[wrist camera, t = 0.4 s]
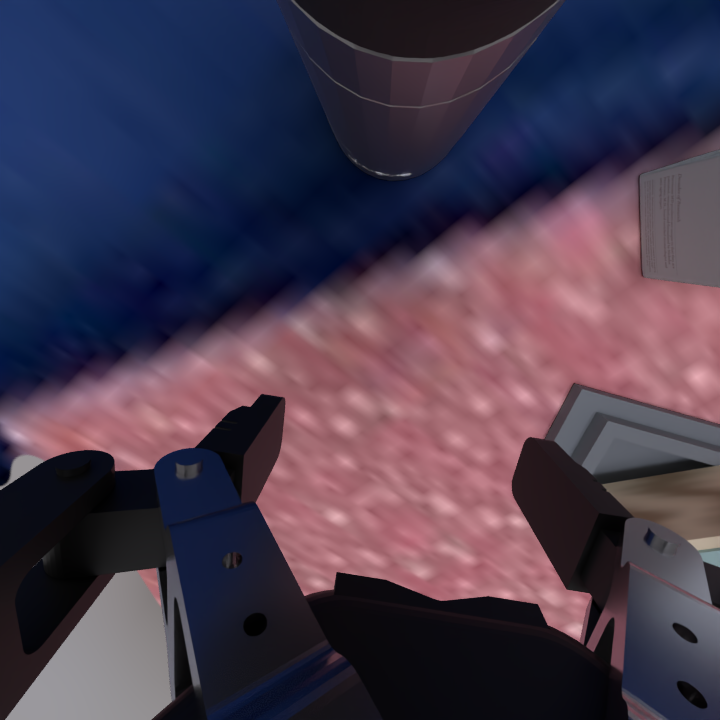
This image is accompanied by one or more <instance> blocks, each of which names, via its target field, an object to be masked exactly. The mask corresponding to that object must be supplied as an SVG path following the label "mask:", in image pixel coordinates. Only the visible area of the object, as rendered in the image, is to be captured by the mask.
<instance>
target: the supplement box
mask: <svg viewBox="0 0 720 720" xmlns="http://www.w3.org/2000/svg"><path fill="white" fill-rule="evenodd" d="M640 219H641V252H642V271H643V276H644V277H645V278H651V279H658V280H665V281H673V282H681V283H689V284H696V285H704V286H711V287H719V288H720V149H719V150H716V151H712V152H709V153H706V154H703V155H700V156H696V157H693V158H690V159H687V160H684V161H681V162H677V163H674V164H671V165H668V166H665V167H662V168H659V169H656V170H653V171H650V172H646V173H643V174H641V175H640Z"/></svg>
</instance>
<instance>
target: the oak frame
mask: <svg viewBox="0 0 720 720" xmlns="http://www.w3.org/2000/svg"><path fill="white" fill-rule="evenodd" d="M602 485H603V486H604V487H605V488H606V489H607V490H606V491H607V492H610V493H611V494H612V495H613V496H614V497H615V498H616V499H617V500H618V501H619V502H620V503H621V504H622V505H623V506H624V507H625V508H626V509H627V510H628V511H629V512H630V513H631V514H632V515H633V516H634V517H635V518H641V519H646V520H649V521H652V522H655V523H657V524H660V525H662V526H664V527H666V528H668V529H670V530H672V531H673V532H675V533H677V534H678V535H680V536H681V537H683V538H684V539H685V540H687V541H688V542H689V543H690V544H692V545H693V546H694V547H695V548H696V549H697V551H698V552H699V553H700V555H701V557H702V559H703V561H704V562H707V563H709V564H712V565H715V566H718V567H720V465H718V466H712V467H706V468H700V469H693V470H687V471H681V472H675V473H669V474H663V475H656V476H650V477H644V478H638V479H632V480H626V481H619V482H613V483H607V484H602Z"/></svg>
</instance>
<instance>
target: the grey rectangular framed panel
mask: <svg viewBox="0 0 720 720" xmlns="http://www.w3.org/2000/svg"><path fill="white" fill-rule="evenodd" d="M545 440H551V441H555V442H556V443H557V444H558V445H559V446H560V447H561V448H562V449H563V450H564V451H565V452H566V453H567V454H568V455H569V456H570V457H571V458H572V459H573V460H574V461H575V462H576V463H578V464H579V465H581V466H582V467H584V468H585V469H587V470H588V471H589V472H590V473H591V474H592V475H593V476H594V477H595V478H596V479H597V482H600V483H601V484H607V483H613V482H619V481H626V480H632V479H638V478H644V477H650V476H656V475H663V474H669V473H675V472H681V471H687V470H693V469H700V468H706V467H712V466H718V465H720V424H716V423H713V422H709V421H706V420H702V419H698V418H695V417H691V416H688V415H684V414H681V413H677V412H674V411H670V410H667V409H663V408H660V407H656V406H653V405H649V404H646V403H642V402H638V401H635V400H631V399H628V398H624V397H621V396H617V395H614V394H610V393H607V392H603V391H600V390H596V389H593V388H589V387H586V386H582V385H579V384H575V383H574V385H573V387H572V388H571V390H570V392H569V394H568V396H567V398H566V400H565V402H564V404H563V405H562V407H561V409H560V411H559V413H558V415H557V417H556V419H555V420H554V422H553V424H552V426H551V428H550V430H549V432H548V434H547V436H546V437H545Z"/></svg>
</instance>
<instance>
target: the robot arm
mask: <svg viewBox="0 0 720 720" xmlns="http://www.w3.org/2000/svg"><path fill="white" fill-rule="evenodd" d="M276 1H277V3H278V5H279V7H280V10H281V12H282V14H283V16H284V19H285V21H286V23H287V26H288V28H289V30H290V33H291V35H292V37H293V40H294V42H295V44H296V47H297V49H298V51H299V54H300V56H301V58H302V61H303V63H304V65H305V68H306V70H307V72H308V75H309V77H310V79H311V82H312V84H313V86H314V89H315V91H316V93H317V96H318V98H319V100H320V103H321V105H322V107H323V110H324V112H325V114H326V117H327V119H328V122H329V124H330V126H331V128H332V131H333V133H334V135H335V138H336V140H337V142H338V143H339V145H340V147H341V149H342V150H343V152H344V154H345V155H346V156H347V157H348V158H349V159H350V161H351V162H352V163H353V164H354V165H355V166H357V167H358V168H359V169H361V170H362V171H363V172H365V173H367V174H369V175H371V176H374V177H376V178H378V179H384V180H390V181H397V180H407V179H410V178H414V177H417V176H420V175H422V174H423V173H425V172H427V171H429V170H431V169H432V168H433V167H435V166H436V165H437V164H438V163H439V162H440V161H441V160H443V159H444V157H445V156H446V155H447V154H448V152H449V151H450V150H451V149H452V147H453V146H454V145H455V144H456V142H457V141H458V140H459V139H460V138H461V136H462V135H463V134H464V133H465V131H466V130H467V129H468V127H469V126H470V125H471V123H472V122H473V121H474V120H475V118H476V117H477V116H478V114H479V113H480V112H481V110H482V109H483V108H484V107H485V105H486V104H487V103H488V101H489V100H490V99H491V97H492V96H493V95H494V94H495V92H496V91H497V90H498V88H499V87H500V86H501V84H502V83H503V82H504V81H505V79H506V78H507V77H508V75H509V74H510V73H511V71H512V70H513V69H514V67H515V66H516V65H517V64H518V62H519V61H520V60H521V58H522V57H523V56H524V54H525V53H526V52H527V51H528V49H529V48H530V47H531V45H532V44H533V43H534V41H535V40H536V39H537V37H538V36H539V34H540V33H541V32H542V30H543V29H544V28H545V26H546V25H547V24H548V22H549V21H550V20H551V18H552V17H553V16H554V15H555V13H556V12H557V11H558V9H559V8H560V7H561V5H562V4H563V3H564V1H565V0H276ZM284 413H285V398H284V397H277V396H271V395H265V394H261V395H260V397H259V398H258V399H257V400H256V401H255V402H254V404H253V405H252V406H251V407H247V406H241V407H239V408H237V409H235V410H232V411H230V412H229V413H228V414H227V415H226V416H225V417H224V418H223V419H222V421H220V422H219V423H218V424H217V425H216V426H215V428H213V429H212V431H211V432H210V433H209V434H208V435H207V436H206V437H205V438H204V439H203V440H202V441H201V442H200V443H199V444H198V445H197V446H196V447H195V448H188V449H182V450H178V451H175V452H172V453H169V454H167V455H166V456H164V457H162V458H161V459H160V460H159V461H158V462H157V463H156V465H155V467H154V469H149V470H131V471H115V464H114V458H113V457H112V456H111V455H110V454H108V453H106V452H102V451H96V450H84V451H75V452H70V453H66V454H62V455H59V456H56V457H53V458H51V459H49V460H47V461H45V462H43V463H41V464H39V465H38V466H36V467H35V468H33V469H32V470H30V471H29V472H27V473H26V474H25V475H23V476H21V477H20V478H18V479H17V480H15V481H14V482H13V483H11V484H9V485H8V486H6V487H5V488H3V489H2V490H0V720H5V719H6V718H7V716H8V715H9V713H10V712H11V711H12V710H13V708H14V707H15V706H16V704H17V703H18V702H19V700H20V699H21V698H22V696H23V695H24V694H25V692H26V691H27V690H28V689H29V687H30V686H31V685H32V683H33V682H34V681H35V679H36V678H37V677H38V675H39V674H40V673H41V671H42V670H43V669H44V667H45V666H46V665H47V663H48V662H49V660H50V659H51V658H52V657H53V655H54V654H55V653H56V651H57V650H58V649H59V647H60V646H61V645H62V643H63V642H64V641H65V640H66V638H67V637H68V635H69V634H70V633H71V631H72V630H73V629H74V628H75V626H76V625H77V623H78V622H79V621H80V620H81V618H82V617H83V616H84V614H85V613H86V612H87V610H88V609H89V608H90V606H91V605H92V604H93V602H94V601H95V600H96V598H97V597H98V596H99V595H100V593H101V592H102V590H103V589H104V587H106V585H107V584H108V583H109V581H110V580H111V579H112V577H113V576H114V575H115V573H120V572H127V571H135V570H143V569H151V568H156V570H157V578H158V585H159V592H160V599H161V607H162V614H163V621H164V627H165V635H166V643H167V653H168V667H169V678H170V679H169V680H170V690H171V698H172V702H171V703H170V704H169V705H168V706H167V707H166V708H164V709H163V710H162V711H161V712H160V713H159V714H157V715H156V716H155V717H154V718H153V719H152V720H720V567H718V566H715V565H712V564H709V563H707V562H704V561H703V559H702V557H701V555H700V553H699V552H698V551H697V549H696V548H695V547H694V546H693V545H692V544H690V543H689V542H688V541H687V540H685V539H684V538H683V537H681V536H680V535H678V534H677V533H675V532H673V531H672V530H670V529H668V528H666V527H664V526H662V525H660V524H657V523H655V522H652V521H649V520H646V519H641V518H635V517H634V516H633V515H632V514H631V513H630V512H629V511H628V510H627V509H626V508H625V507H624V506H623V505H622V504H621V503H620V502H619V501H618V500H617V499H616V498H615V497H614V496H613V495H612V494H611V493H610V492H607V491H606V490H607V489H606V488H605V487H604V486H603V485H602V484H601V483H600V482H597V479H596V478H595V477H594V476H593V475H592V474H591V473H590V472H589V471H588V470H587V469H585V468H584V467H582V466H581V465H579V464H578V463H576V462H575V461H574V460H573V459H572V458H571V457H570V456H569V455H568V454H567V453H566V452H565V451H564V450H563V449H562V448H561V447H560V446H559V445H558V444H557V443H556V442H555V441H551V440H545V439H539V438H532V437H529V438H527V439H526V441H525V442H524V445H523V448H522V451H521V454H520V457H519V460H518V463H517V466H516V470H515V473H514V476H513V479H512V493H513V496H514V498H515V500H516V502H517V504H518V506H519V507H520V509H521V511H522V512H523V514H524V516H525V518H526V519H527V521H528V523H529V525H530V526H531V528H532V530H533V532H534V533H535V535H536V537H537V539H538V540H539V542H540V544H541V546H542V547H543V549H544V551H545V553H546V554H547V556H548V558H549V559H550V561H551V563H552V565H553V566H554V568H555V570H556V572H557V573H558V575H559V577H560V579H561V580H562V582H563V584H564V586H565V587H566V589H567V590H573V591H579V592H585V593H590V594H591V596H592V597H591V599H590V601H589V603H588V606H587V608H586V613H585V618H584V623H583V628H582V633H581V638H580V642H578V641H577V640H575V639H573V638H572V637H570V636H568V635H567V634H565V633H563V632H561V631H559V630H557V629H555V628H553V627H551V626H548V625H547V623H546V621H545V619H544V616H543V614H542V612H541V610H540V608H539V606H538V604H533V603H527V602H520V601H514V600H508V599H502V598H495V597H489V596H487V597H477V598H468V599H458V600H448V601H439V600H435V599H432V598H430V597H427V596H425V595H422V594H420V593H417V592H415V591H412V590H410V589H407V588H405V587H402V586H400V585H397V584H395V583H392V582H390V581H387V580H383V579H377V578H371V577H364V576H358V575H352V574H346V573H339V572H337V574H336V580H335V585H334V590H326V591H321V592H316V593H312V594H309V595H306V596H304V595H303V593H302V591H301V589H300V587H299V585H298V583H297V581H296V579H295V577H294V575H293V573H292V571H291V570H290V568H289V566H288V564H287V562H286V560H285V558H284V556H283V554H282V552H281V550H280V548H279V546H278V544H277V543H276V541H275V539H274V537H273V535H272V533H271V531H270V529H269V527H268V525H267V523H266V521H265V519H264V517H263V516H262V514H261V512H260V510H259V508H258V506H257V504H256V501H257V499H258V497H259V495H260V493H261V491H262V489H263V487H264V485H265V483H266V481H267V479H268V477H269V475H270V473H271V471H272V469H273V467H274V465H275V463H276V461H277V458H278V456H279V452H280V448H281V443H282V434H283V423H284ZM33 566H34V567H33Z"/></svg>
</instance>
